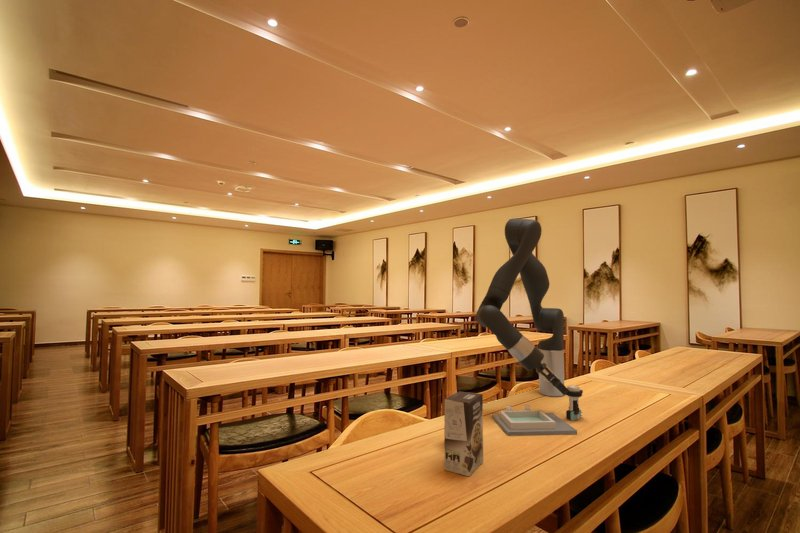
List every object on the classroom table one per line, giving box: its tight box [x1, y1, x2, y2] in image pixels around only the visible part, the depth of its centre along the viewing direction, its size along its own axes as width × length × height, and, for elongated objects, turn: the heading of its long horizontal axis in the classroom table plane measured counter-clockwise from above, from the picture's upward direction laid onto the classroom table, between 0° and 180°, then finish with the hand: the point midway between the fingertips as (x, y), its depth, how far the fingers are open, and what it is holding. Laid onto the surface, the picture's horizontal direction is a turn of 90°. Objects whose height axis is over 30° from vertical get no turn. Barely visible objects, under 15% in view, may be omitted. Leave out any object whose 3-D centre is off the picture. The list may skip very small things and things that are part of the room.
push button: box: [565, 385, 584, 422], centre depth 126 cm, size 7×5×10 cm
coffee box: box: [443, 390, 484, 477], centre depth 93 cm, size 9×6×16 cm
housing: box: [491, 404, 578, 437], centre depth 120 cm, size 16×20×4 cm
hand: (563, 389), depth 126 cm, fingers open, 8 cm apart
